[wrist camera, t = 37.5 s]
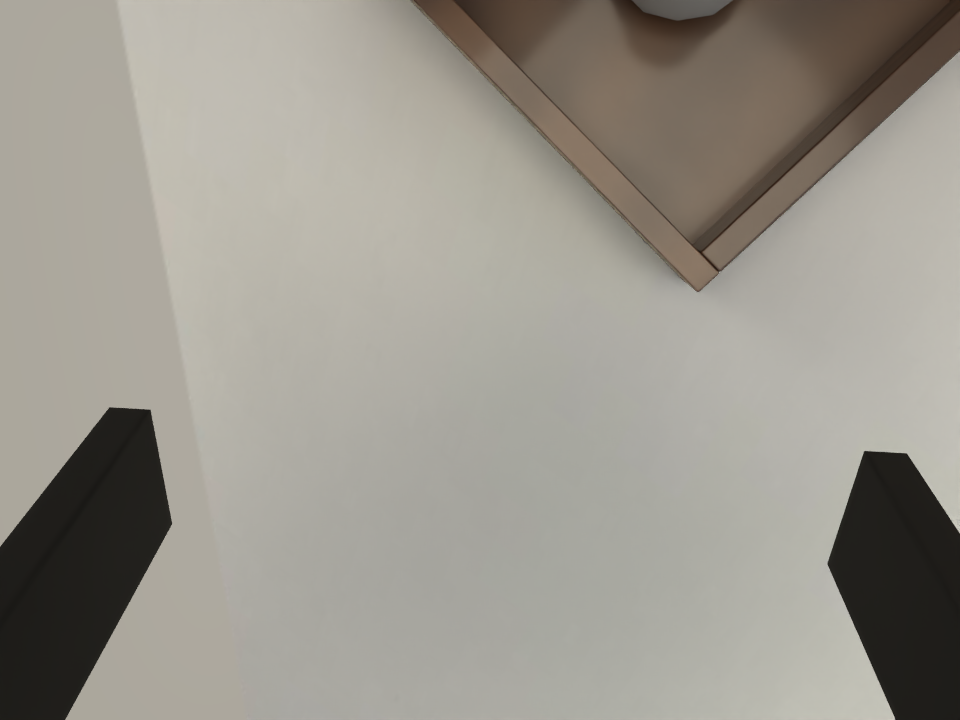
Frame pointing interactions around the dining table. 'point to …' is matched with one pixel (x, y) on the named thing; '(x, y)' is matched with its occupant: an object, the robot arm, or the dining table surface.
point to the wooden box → (703, 100)
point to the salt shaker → (681, 8)
